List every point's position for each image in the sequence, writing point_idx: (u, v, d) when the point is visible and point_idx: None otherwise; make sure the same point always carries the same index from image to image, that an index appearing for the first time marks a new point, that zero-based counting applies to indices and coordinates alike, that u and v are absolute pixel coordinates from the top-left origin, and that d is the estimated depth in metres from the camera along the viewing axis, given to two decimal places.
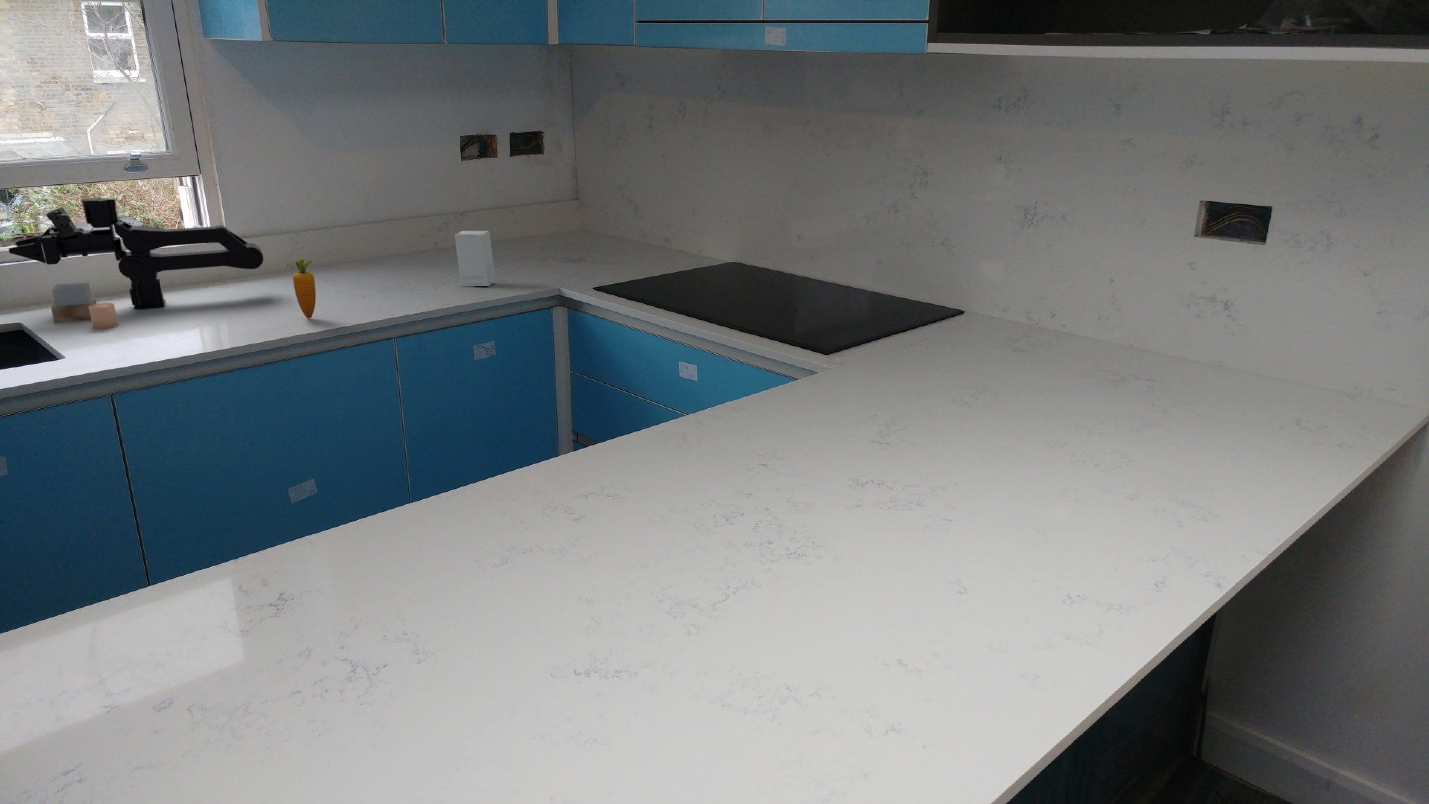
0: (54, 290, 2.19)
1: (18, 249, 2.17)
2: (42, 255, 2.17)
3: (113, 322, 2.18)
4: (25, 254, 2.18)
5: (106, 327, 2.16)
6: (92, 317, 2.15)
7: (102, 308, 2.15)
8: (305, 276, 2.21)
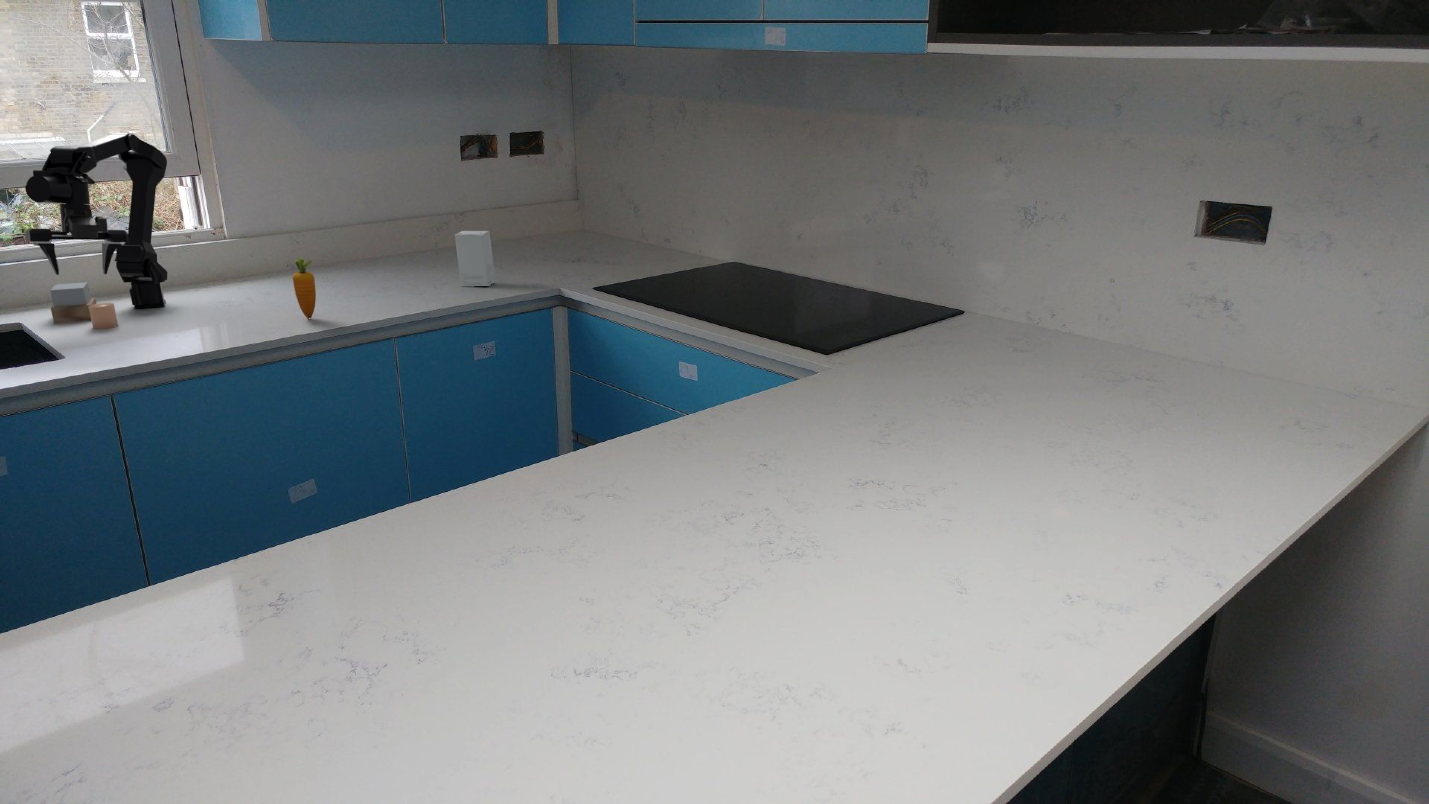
0: (52, 290, 2.19)
1: None
2: None
3: (113, 322, 2.18)
4: None
5: (106, 327, 2.16)
6: (92, 317, 2.15)
7: (102, 308, 2.15)
8: (305, 276, 2.21)
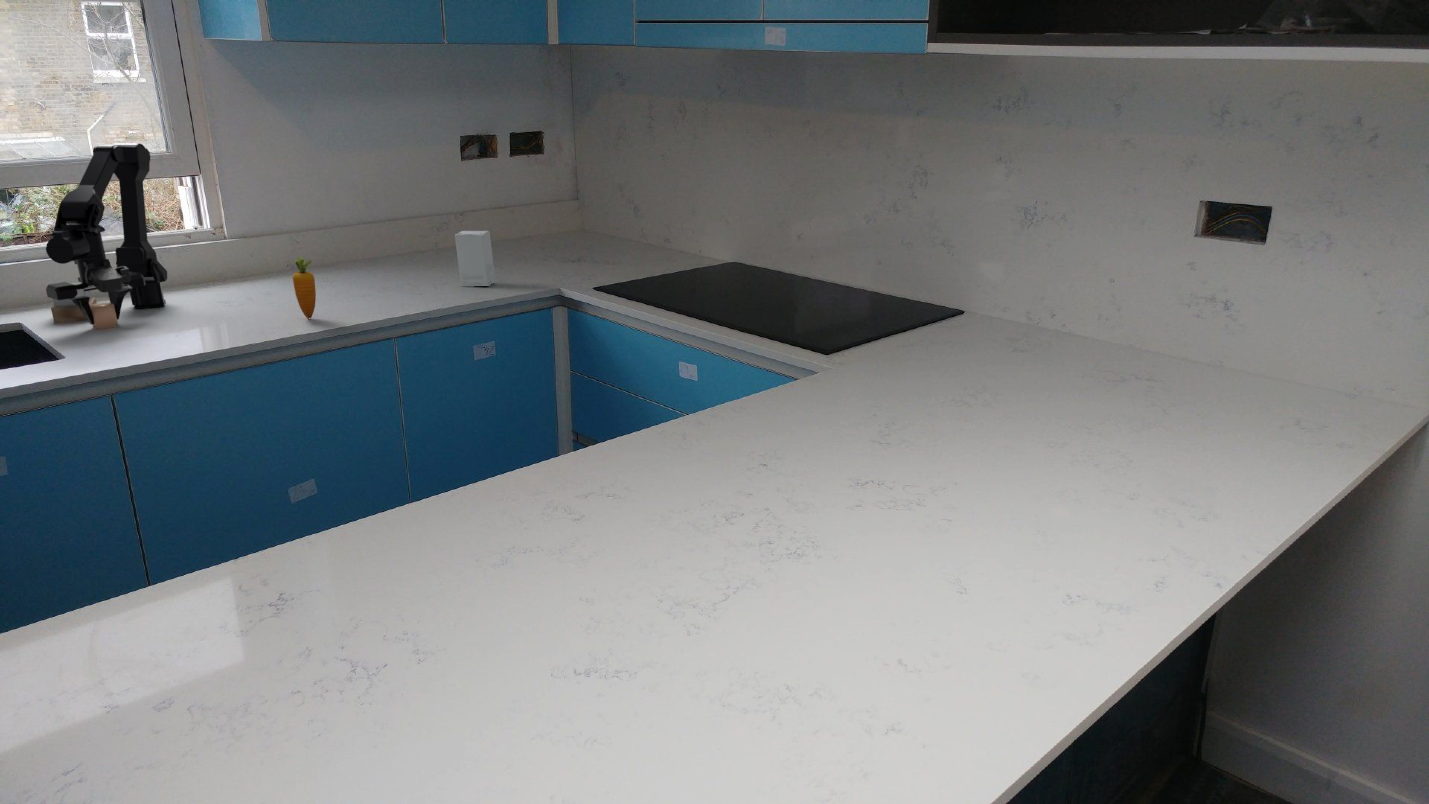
0: None
1: None
2: None
3: (113, 322, 2.18)
4: None
5: (106, 327, 2.16)
6: None
7: (102, 308, 2.15)
8: (305, 276, 2.21)
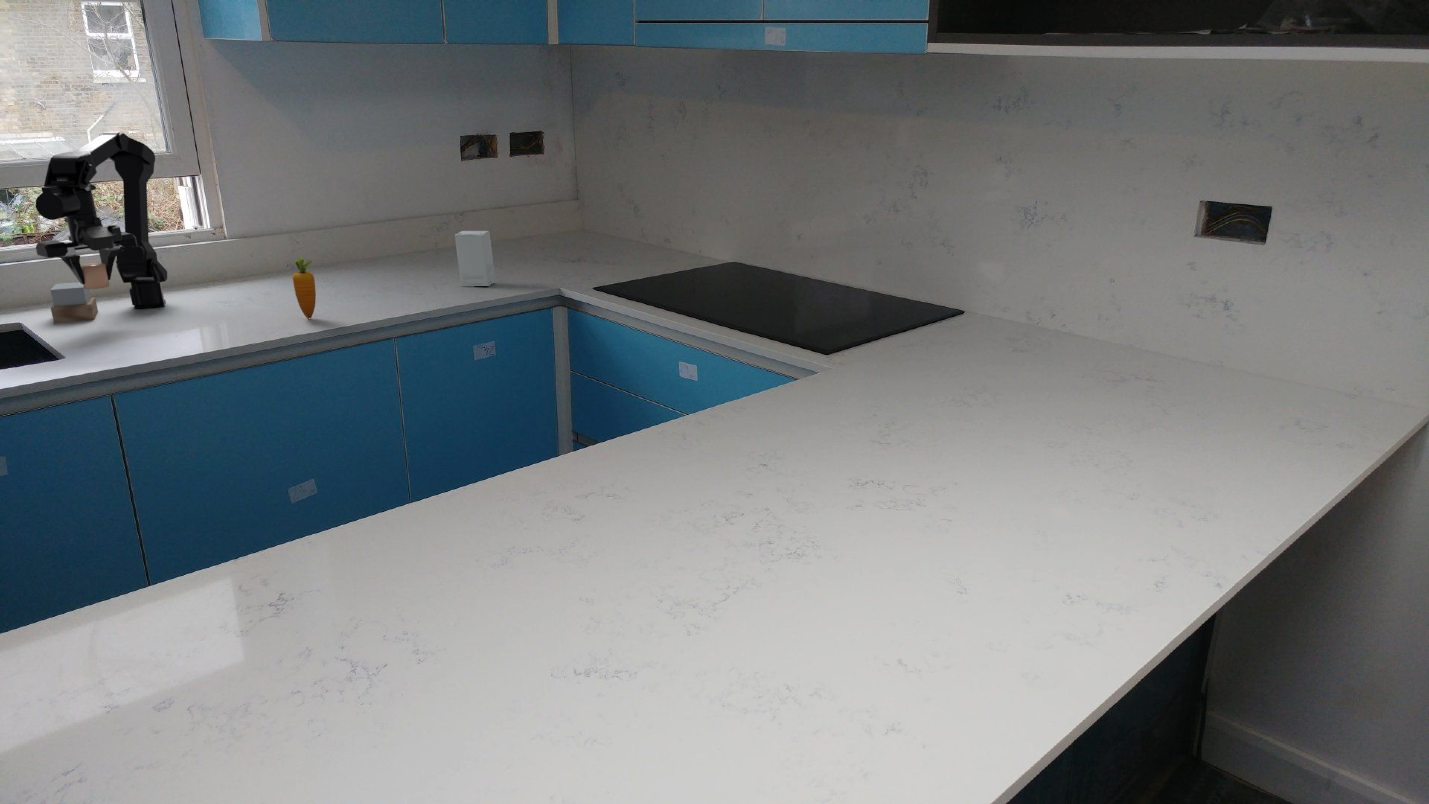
0: (52, 290, 2.19)
1: None
2: None
3: (105, 282, 2.14)
4: None
5: (97, 287, 2.13)
6: None
7: (93, 267, 2.12)
8: (305, 276, 2.21)
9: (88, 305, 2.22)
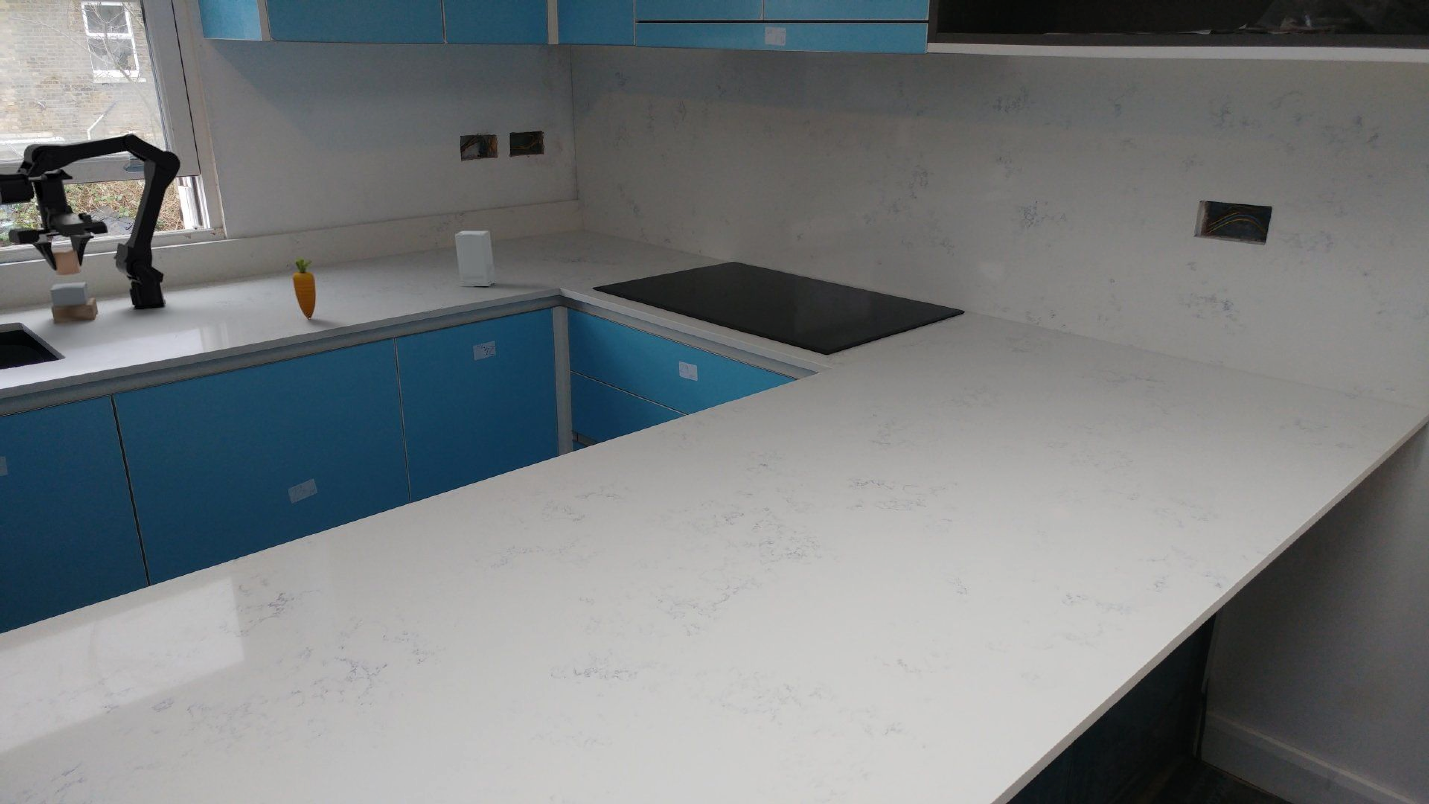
0: (52, 290, 2.19)
1: None
2: None
3: (76, 268, 2.21)
4: None
5: (69, 273, 2.20)
6: None
7: (65, 254, 2.18)
8: (305, 276, 2.21)
9: (89, 305, 2.23)
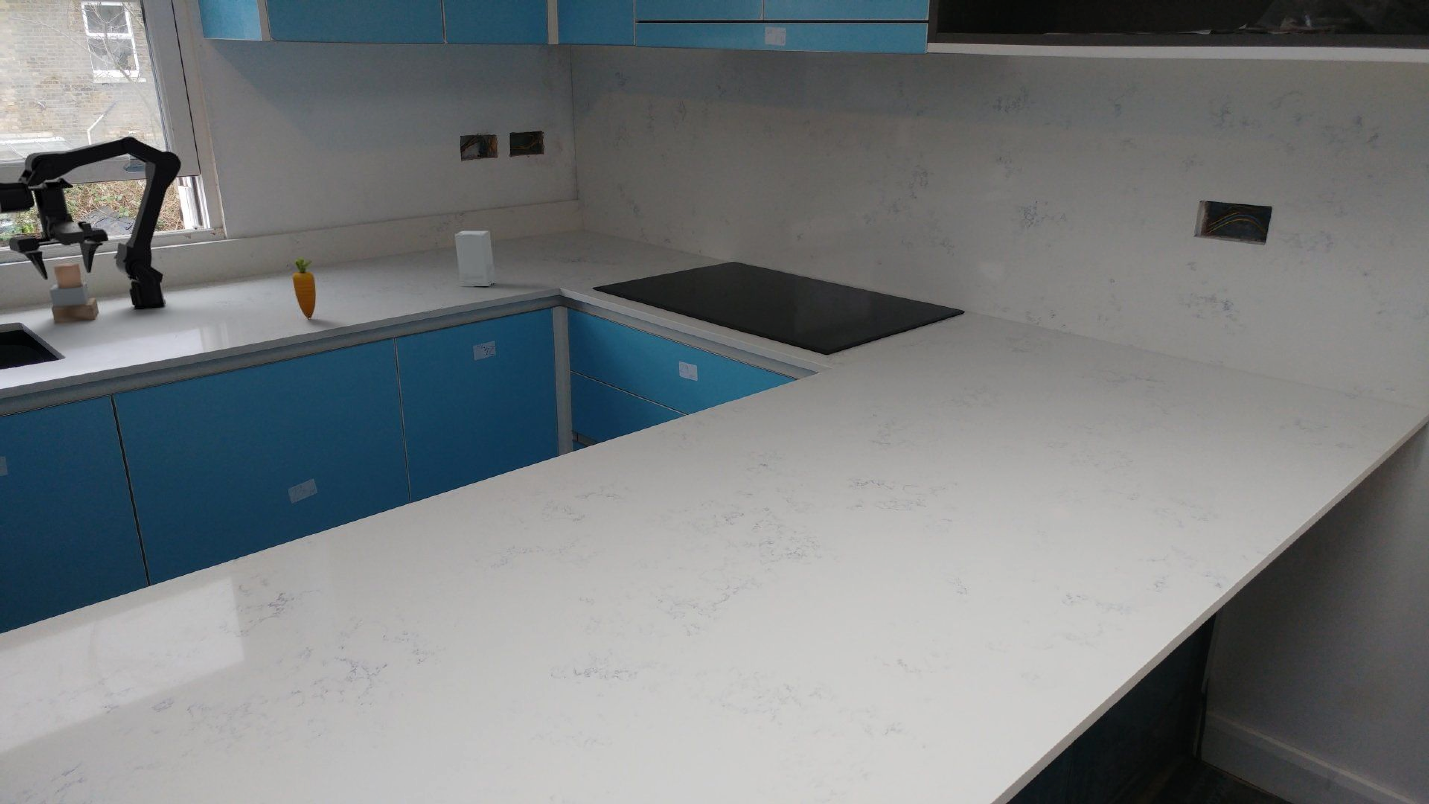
0: (51, 290, 2.19)
1: None
2: None
3: (78, 282, 2.22)
4: None
5: (70, 286, 2.21)
6: (57, 276, 2.20)
7: (66, 267, 2.20)
8: (305, 276, 2.21)
9: (89, 306, 2.22)
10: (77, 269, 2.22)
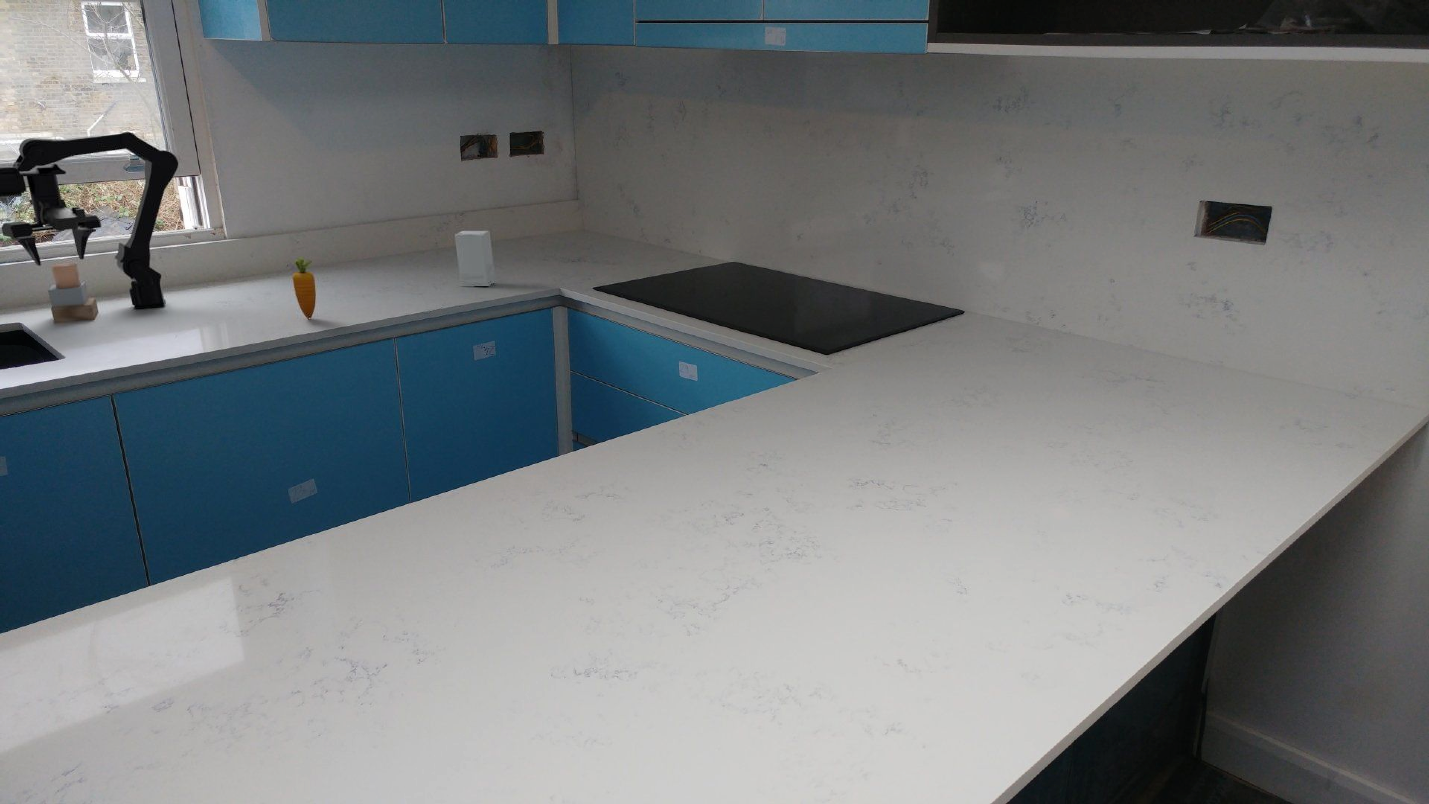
0: (50, 291, 2.19)
1: None
2: None
3: (76, 282, 2.22)
4: None
5: (68, 286, 2.21)
6: (55, 276, 2.20)
7: (64, 267, 2.19)
8: (305, 276, 2.21)
9: (88, 305, 2.22)
10: (75, 269, 2.22)
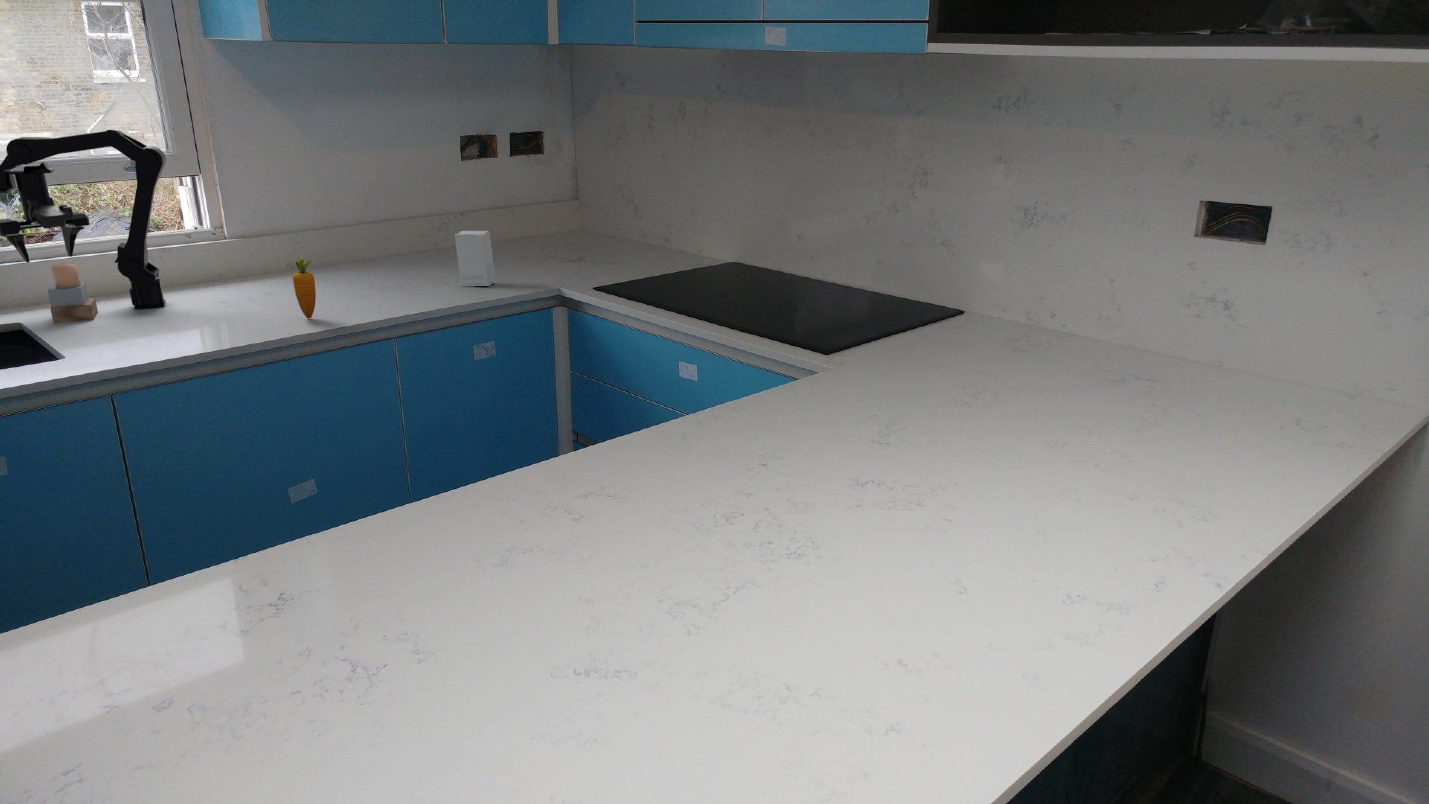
0: (50, 291, 2.19)
1: None
2: None
3: (76, 282, 2.22)
4: None
5: (68, 286, 2.21)
6: (54, 276, 2.20)
7: (64, 267, 2.19)
8: (305, 276, 2.21)
9: (88, 305, 2.22)
10: (75, 269, 2.21)
